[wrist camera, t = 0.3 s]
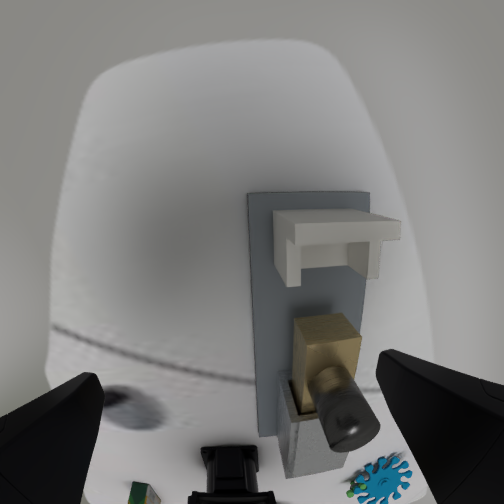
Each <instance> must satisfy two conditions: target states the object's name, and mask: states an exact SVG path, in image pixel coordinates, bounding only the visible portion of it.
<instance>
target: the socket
mask: <svg viewBox="0 0 504 504" xmlns="http://www.w3.org/2000/svg"><path fill="white" fill-rule="evenodd" d="M400 229H401V221H399V220H395V219H392V218H388V217H384V216H380V215H376V214H372V213H368V212H363V211H359V210H355V209H303V210H274V211H273V235H274V265H275V267H276V269H277V270H278V272H279V274H280V276H281V278H282V280H283V281H284V283H285V285H286V287H296V286H301V269H305V268H318V267H331V266H343V265H348V266H349V267H351V268H352V269H353V270H355V271H356V272H358V273H359V274H360V275H362V276H363V277H364V278H366V279H367V280H368V279H376V278H378V275H379V264H380V251H381V241H387V240H400Z"/></svg>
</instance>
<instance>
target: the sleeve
mask: <svg viewBox="0 0 504 504" xmlns="http://www.w3.org/2000/svg"><path fill="white" fill-rule="evenodd" d="M291 387H292V369H290V370H281V371H277V427H276V434H277V438H278V443H279V448H280V453H281V458H282V463H283V468H284V472H285V477H286V479H288V478H294V477H300V476H306V475H311V474H316V473H321V472H325V471H330V470H334V469H338V468H342V467H343V465H344V463H345V460H346V458H347V455H348V453H349V452H344V453H338V452H334V451H332V450H331V449H330V447H329V444H328V442H327V439H326V436H325V434H324V431H323V428H322V426H321V423H320V420H319V418H318V415H317V413H313V414H307V415H301V416H298V414H297V411H296V407H295V404H294V401H293V397H292V394H291Z"/></svg>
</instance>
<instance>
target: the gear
mask: <svg viewBox="0 0 504 504" xmlns="http://www.w3.org/2000/svg"><path fill="white" fill-rule="evenodd" d="M399 461H400V459H399V458H397V457H395V456H393V457H392V459H391V461H390V463H389V465H388V466H387V467H385V468H383V469H382V466H383V465H384V464H385V463H386V462H387V459H385V458H380V459H378V464H379V465H378V469H377V471H376V472H375V473H372V470H373V468H374V467H373V465H372V464H369V465H367V466H366V467H365V470H366V471H367V472H368V473H369V479H368V480H366V481H365V480H364V477H363V476H362V475H359V476H358V477H357V478H356V479H355V480H356V482H358V483H355V482H354V481H353V482H351V483H350V484H351V486H350V490H348V491H347V492H346V494H347V496H348V497H349V498H351V497H353V496H354V494H359V493H363V492H365V493H369V494H368V495H367V496H359V497H358V498H357V499H358V501H359V503H360V504H361V503H363V502H365V501H366V500H367V499H369V498H372V497H375V499H374V500H371V501H369V502H367V504H376V502H377V501H378V500H379V499H380V498H382V497H385V498H384V499H383V500H382V501H381V502H380V504H388V497H389V496H390V494H391V493H392V492H394V494H393V496H392V497H393V499H394V500H396V499H398V498H400V497H401V494H400V493H398V491H397V487H398V486H399V485H401V487H402V488H403V489H404V490H406V489H407V488H408V487H409V486H410V484H409V483H408V482H402V481H401V480H400V478H401V477H402V476H405V477H407V478H411V476H412V471H410V470H408V471H406V472H404V473H398V471H399V469H401V468H403V469H406V468H408V467H409V464H408V462H407V461H403V462H402V463H401V464H400V465H399V466H397V467H395V468H392V465H394V464H397V463H398V462H399Z"/></svg>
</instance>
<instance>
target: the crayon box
mask: <svg viewBox="0 0 504 504" xmlns="http://www.w3.org/2000/svg"><path fill="white" fill-rule="evenodd" d="M160 503H161V500H160V499H159V498H158V496H157V495H156V494H155V492H154V491H153V489H152V488H151V487H150V485H149V484H144V483H138V482H133V483H132V487H131V491H130V496H129V500H128V504H160Z"/></svg>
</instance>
